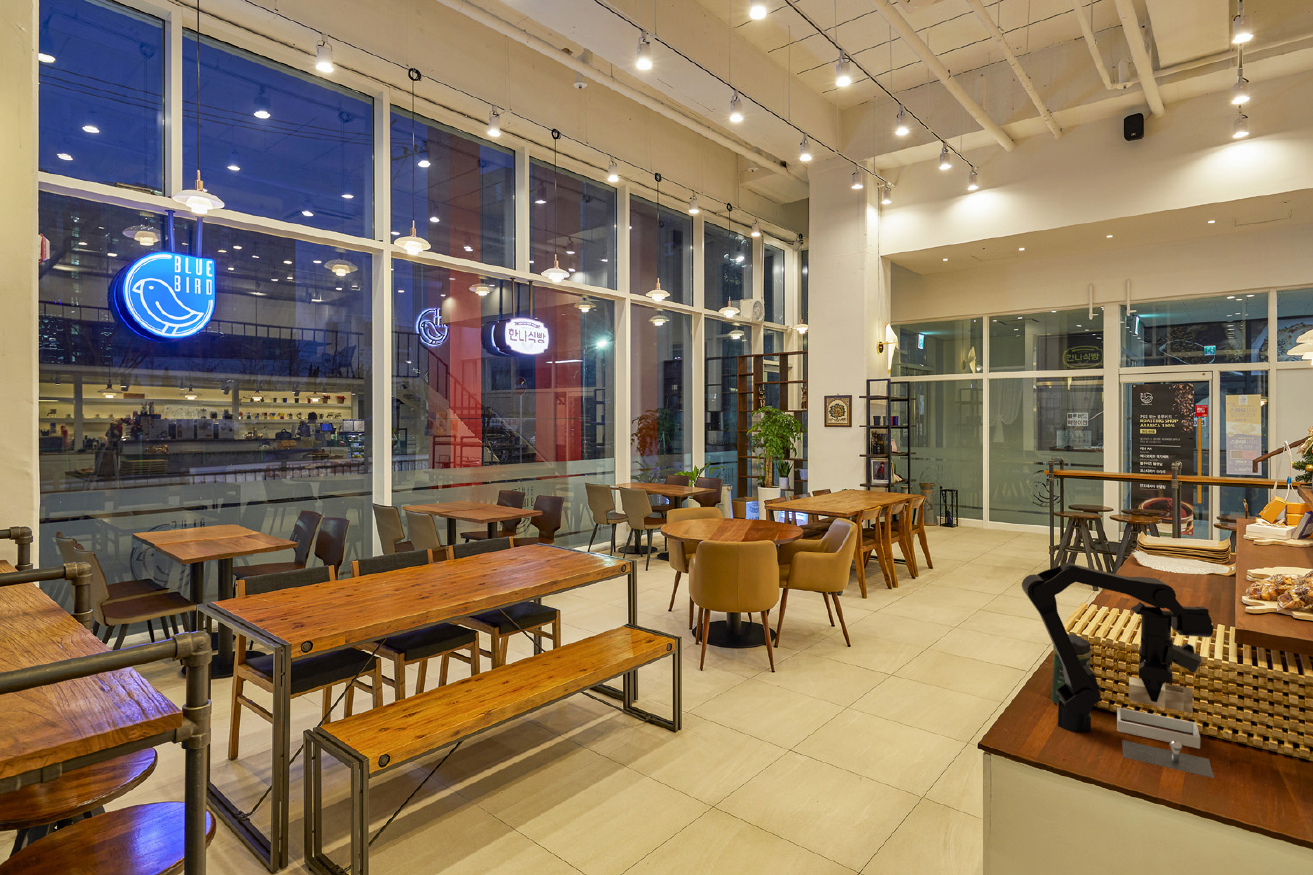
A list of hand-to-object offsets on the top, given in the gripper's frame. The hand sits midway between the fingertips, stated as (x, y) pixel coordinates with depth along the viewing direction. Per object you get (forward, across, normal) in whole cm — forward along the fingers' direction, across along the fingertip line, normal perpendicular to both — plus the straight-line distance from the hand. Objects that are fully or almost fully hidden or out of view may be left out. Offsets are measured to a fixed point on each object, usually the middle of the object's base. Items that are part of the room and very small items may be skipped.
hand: (1154, 697), depth 162 cm
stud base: (+10, -11, -2) cm, 15 cm away
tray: (+10, +3, -1) cm, 11 cm away
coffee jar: (+11, +12, +18) cm, 24 cm away
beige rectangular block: (+1, 0, -1) cm, 1 cm away
